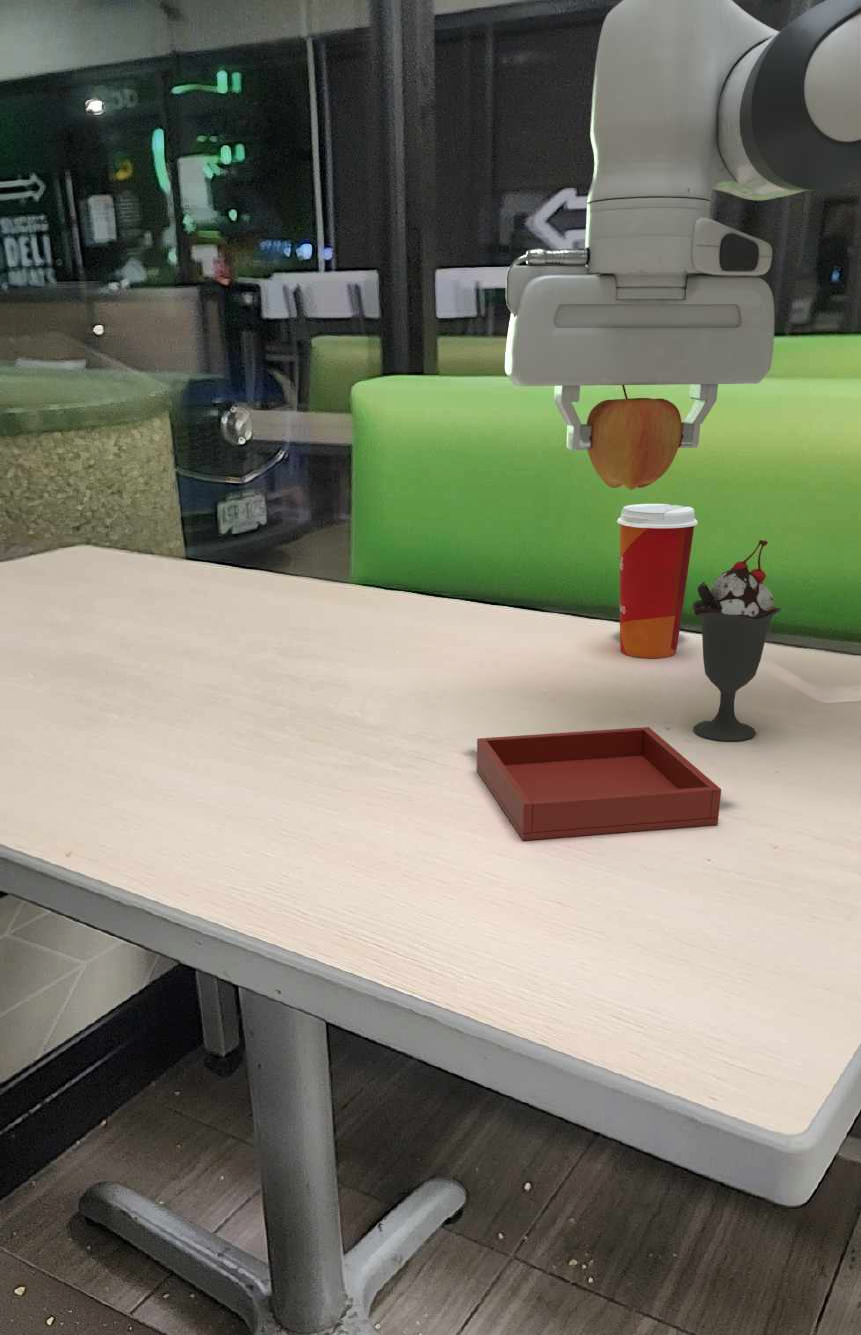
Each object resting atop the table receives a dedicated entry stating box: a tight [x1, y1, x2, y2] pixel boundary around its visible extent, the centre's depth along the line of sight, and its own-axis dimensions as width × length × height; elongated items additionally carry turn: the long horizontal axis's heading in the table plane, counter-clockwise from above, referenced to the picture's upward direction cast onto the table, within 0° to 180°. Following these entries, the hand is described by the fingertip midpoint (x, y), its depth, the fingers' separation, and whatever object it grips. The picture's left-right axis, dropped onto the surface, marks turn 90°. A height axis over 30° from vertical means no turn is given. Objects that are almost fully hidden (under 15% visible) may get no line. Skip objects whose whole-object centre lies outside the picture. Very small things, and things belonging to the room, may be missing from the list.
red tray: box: [476, 726, 722, 841], centre depth 80 cm, size 13×13×2 cm
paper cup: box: [616, 503, 699, 659], centre depth 115 cm, size 8×8×14 cm
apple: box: [585, 385, 682, 491], centre depth 90 cm, size 7×7×8 cm
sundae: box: [692, 539, 782, 742], centre depth 91 cm, size 7×7×15 cm
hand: (632, 448), depth 91 cm, fingers closed on apple, 7 cm apart
